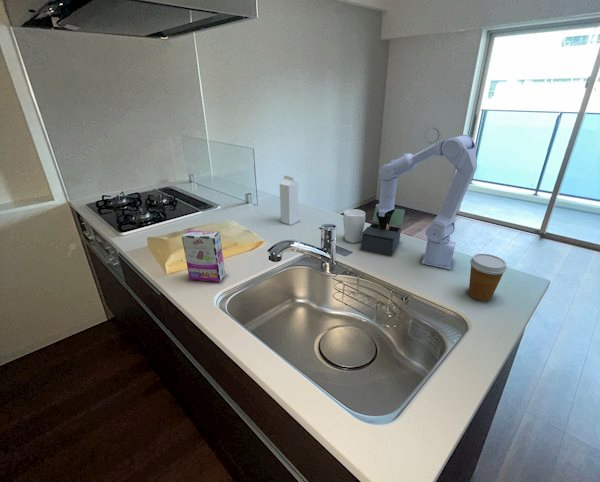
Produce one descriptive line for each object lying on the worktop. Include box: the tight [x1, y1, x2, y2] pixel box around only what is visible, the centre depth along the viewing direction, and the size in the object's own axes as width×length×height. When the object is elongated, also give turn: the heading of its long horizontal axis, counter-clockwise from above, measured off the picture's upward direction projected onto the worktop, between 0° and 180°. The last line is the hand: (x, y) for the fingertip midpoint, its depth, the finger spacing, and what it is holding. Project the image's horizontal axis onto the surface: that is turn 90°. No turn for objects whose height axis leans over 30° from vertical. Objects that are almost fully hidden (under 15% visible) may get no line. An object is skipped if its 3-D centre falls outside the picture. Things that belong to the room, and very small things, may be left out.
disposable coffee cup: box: [468, 253, 508, 302], centre depth 96 cm, size 10×10×12 cm
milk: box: [279, 175, 299, 226], centre depth 150 cm, size 6×6×22 cm
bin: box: [360, 222, 402, 257], centre depth 128 cm, size 14×12×7 cm
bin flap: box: [372, 206, 406, 227], centre depth 133 cm, size 7×12×1 cm
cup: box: [342, 208, 367, 244], centre depth 133 cm, size 9×9×12 cm
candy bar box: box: [181, 229, 226, 283], centre depth 106 cm, size 11×5×16 cm, turn 80°
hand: (384, 227), depth 129 cm, fingers closed on paper ball, 4 cm apart
